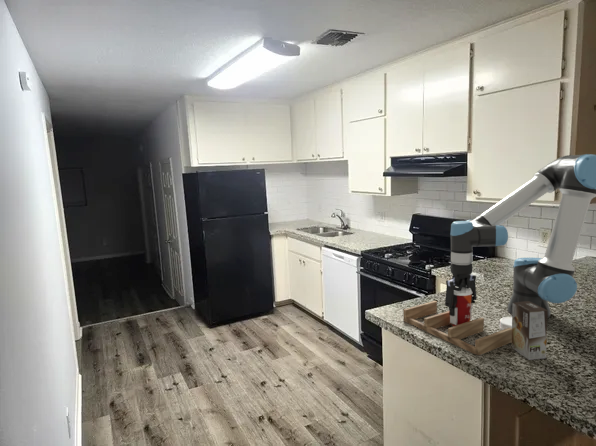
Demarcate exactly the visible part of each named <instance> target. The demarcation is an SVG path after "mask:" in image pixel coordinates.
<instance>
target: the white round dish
mask: <svg viewBox="0 0 596 446" xmlns="http://www.w3.org/2000/svg"><path fill="white" fill-rule="evenodd" d="M507 328H512V316H503V317H501V318H500V319H499V329H500V331H501V330H504V329H507Z"/></svg>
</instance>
